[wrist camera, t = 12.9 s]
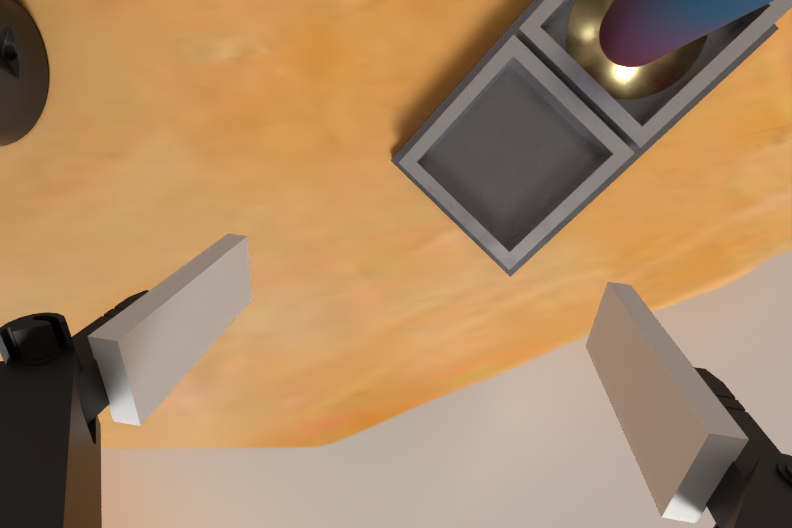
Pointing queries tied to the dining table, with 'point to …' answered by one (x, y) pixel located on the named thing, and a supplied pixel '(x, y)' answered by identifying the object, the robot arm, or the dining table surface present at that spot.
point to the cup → (663, 26)
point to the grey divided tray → (559, 121)
